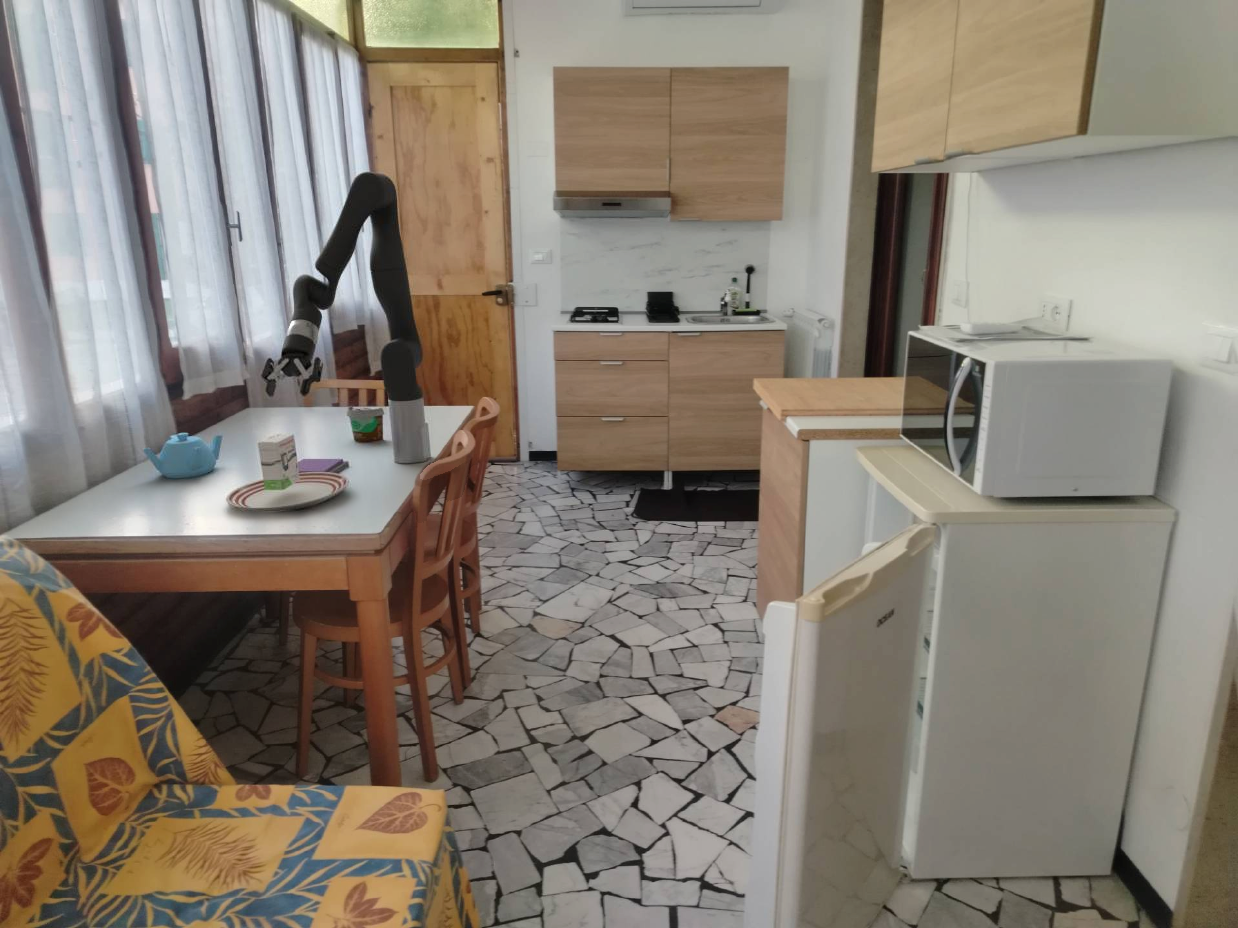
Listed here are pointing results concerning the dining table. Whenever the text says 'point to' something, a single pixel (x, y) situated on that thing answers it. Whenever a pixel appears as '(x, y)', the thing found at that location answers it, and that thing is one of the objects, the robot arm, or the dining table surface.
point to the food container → (366, 424)
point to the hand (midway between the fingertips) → (286, 394)
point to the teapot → (186, 456)
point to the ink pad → (322, 465)
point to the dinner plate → (289, 493)
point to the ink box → (279, 461)
